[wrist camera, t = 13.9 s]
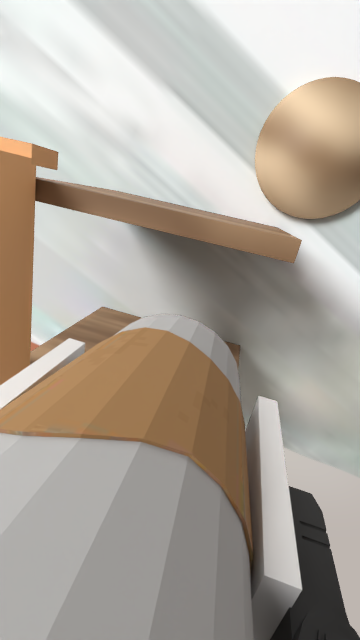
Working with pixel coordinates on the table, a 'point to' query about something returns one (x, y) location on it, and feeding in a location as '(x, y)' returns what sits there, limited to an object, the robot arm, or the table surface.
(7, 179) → the orange notched bar
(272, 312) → the table surface
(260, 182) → the coaster
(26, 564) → the coffee cup
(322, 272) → the table surface
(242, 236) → the cradle
